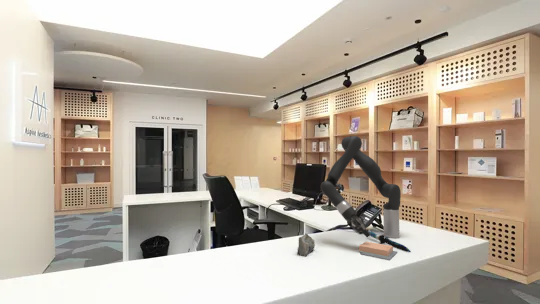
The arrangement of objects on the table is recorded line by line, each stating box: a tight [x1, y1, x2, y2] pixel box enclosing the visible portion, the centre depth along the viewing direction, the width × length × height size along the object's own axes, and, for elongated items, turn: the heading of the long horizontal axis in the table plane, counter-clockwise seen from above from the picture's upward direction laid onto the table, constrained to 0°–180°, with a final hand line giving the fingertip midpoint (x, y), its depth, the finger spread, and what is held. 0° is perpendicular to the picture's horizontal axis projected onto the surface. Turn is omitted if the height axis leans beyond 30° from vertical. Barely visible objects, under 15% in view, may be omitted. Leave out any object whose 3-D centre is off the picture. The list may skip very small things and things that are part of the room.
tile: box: [358, 241, 394, 257], centre depth 141 cm, size 10×3×14 cm
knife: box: [366, 229, 412, 253], centre depth 155 cm, size 31×3×4 cm, turn 21°
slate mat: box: [360, 250, 398, 261], centre depth 140 cm, size 15×14×1 cm
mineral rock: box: [296, 233, 315, 257], centre depth 141 cm, size 13×11×10 cm
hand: (368, 236), depth 143 cm, fingers closed
